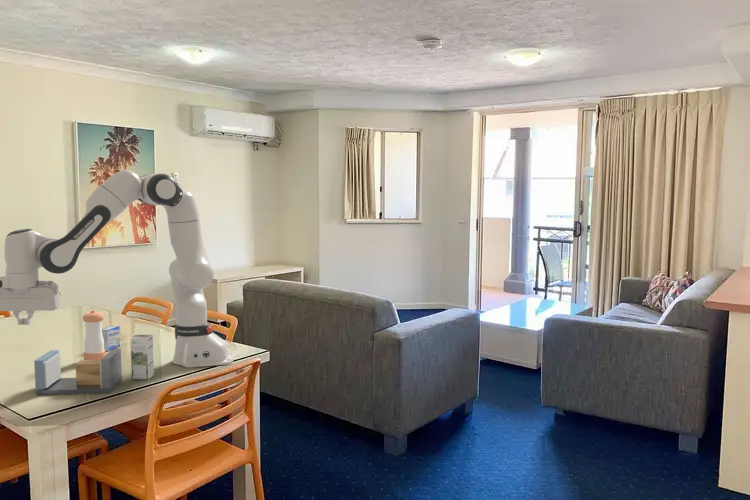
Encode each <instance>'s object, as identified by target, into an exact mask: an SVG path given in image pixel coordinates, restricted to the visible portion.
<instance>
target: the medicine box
mask: <svg viewBox="0 0 750 500" xmlns="http://www.w3.org/2000/svg"><path fill="white" fill-rule="evenodd" d="M120 329H121V328H120V325H109V326H106V327H103V328H102V335H103V339H104V350H105V352H110V351H111V350H113V349H118V348H119V347H121V330H120Z"/></svg>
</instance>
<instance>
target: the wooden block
mask: <svg viewBox="0 0 750 500" xmlns="http://www.w3.org/2000/svg"><path fill="white" fill-rule="evenodd" d="M100 361H101V360H84V359H82V360H79V361H78V362H76V363H75V378H76V384H77V385H101V384H100Z"/></svg>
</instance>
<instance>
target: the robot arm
mask: <svg viewBox="0 0 750 500" xmlns="http://www.w3.org/2000/svg"><path fill="white" fill-rule="evenodd" d="M136 200H138V201H140V202H141V203H144V204H146V205H151V206H162V207H163V208H164V210H165V212H166V217H167V224H168V225H167V226H168V233H169V239H170V244H171V247H172V249H173V251H174V255H175V257H176V258H175V259H174V260H172V261H171V263H170V264H169V267H168V273H169V276H170V280H171V286H172V290H173V295H174V303H175V322H176V323H175V324H174V338H175V346H174V347H175V349H174V354H173V358H172V363H173V364H174V365H176V366H177V365H178V366H182V367H183V368H199V367H210V366H211V367H212V366H224V365H225V366H226V365H229V364H231V363H233V361H235V354H234V353H233V352H230V351H229V346H228V343H227V341H226V340H225V339H223V338H222V337H220V336H219V335H218V334H216V333H214V332H213V330H214V329H213V328H214V326H213V323H210V322H208V306H207V305H208V304H207V300H206V297H205V294H204V289H206V288H208V287H209V286H210V285H211V284H212V282H213V280H214V278H215V274H214V272H215V271H214V269H213V268H212V266H211V265H210V261H209V258H208V255H207V252H206V248H205V246H204V241H203V235H202V230H201V222H200V215H199V211H198V205H197V203H196V199H195V197H194V194H192V192H190V191H187V190H182V188H181V187H180V185H179V184H178V182H177V180H176V179H174V177H173V176H171V175H169V174H165V173H151V174H146V175H142V176H139V175H138V174H137V173H136V172H135V171H132V170H129V169H121V170H118V171H117V172H116V173H114V174H113V175H111V176H110V177H108V178H107V179H105V180H104V181H103V182H102V183H100V184H99V185H98V186H97V187H96V188H95V190H93V192H92V193H91V194H90V196H89V197H88V198H87V200H86V201H85V207H86V209H85V212H84V214H83V216H82V218H81V219H80V220H79V221H78V222H77V223H76V224H75V225H74V226H73V227H72V228H71V229H70V230H69V231H68V232H67V233H66V234H64V236H63V237H61V238H59V239H58V238H57V239H56V238H53V237H50V236H46V235H44V234H42V233H39V232H37V231H36V230H34V229H32V228H23V229H17V230H13V231H10V232H9V233H8V234H7V235H6V237H5V239H4V260H5V264H6V267H5V273H4V274H5V276H2V277H1V276H0V312H12V314H13V316H14V317H15V318H16V320H17V325H19V326H25V325H27V326H28V325H31V323H32V318H33V316H34V314H35V311H36V312H37V311H38V312H39V311H55V310H57V309H58V308H59V307H60V298H59V294H58V293H59V285H58V284H57V283H56V282H54V281H53V280H40V278H39V277H40V276H39V268H43V269H45V270H46V271H48V272H49V273H51V274H59V275H60V274H64V273H66V272H69V271H71V269H73V268H74V266H75V265H76V263H77V261H78V258H79V256H80V254H81V252H82V251H83V249H84V248H85V247H86V246H87V245H88V244H89V243H90V242H91V240H93V239H94V238H95V236H96V235H97V234H98V233H99V232H100V231H101V230H102V229H103V228H104V227H105V226H106V225H109V223H110V222H111V221H113V220H114V219H116V218H117V217H119V215H121V214H122V213H123V212H124V211H125V210H126V209H127V208H128V207H129V206H130V205H131V204H132V203H133V202H135V201H136ZM25 311H26V315H27V317H26V318H24V317H22V315H21V314H22V312H25Z"/></svg>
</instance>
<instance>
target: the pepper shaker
mask: <svg viewBox="0 0 750 500" xmlns="http://www.w3.org/2000/svg"><path fill="white" fill-rule="evenodd" d="M104 318H105V316H104V314H103V313H102V312H99V311H96V310H95V309H92V310H90V312H89V311H88V312H86V313H85V314H83V316H82V321H83V322H84V323H85V325H84V326H85V333H84V334H85V336H84V352H83V360H101V359H102V358H103V357H104V356H105V355H106V351H105V350H104V339H103V335H102V327H103V325H102V321H103V320H104Z"/></svg>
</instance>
